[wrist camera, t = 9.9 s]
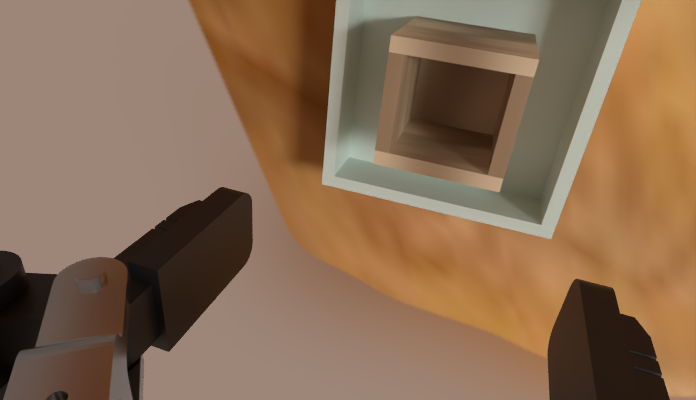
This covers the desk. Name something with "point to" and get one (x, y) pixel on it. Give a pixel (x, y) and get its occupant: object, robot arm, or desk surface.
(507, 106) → the oak crate
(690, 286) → the desk surface
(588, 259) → the desk surface
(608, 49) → the green crate
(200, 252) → the robot arm
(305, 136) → the desk surface
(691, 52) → the desk surface
